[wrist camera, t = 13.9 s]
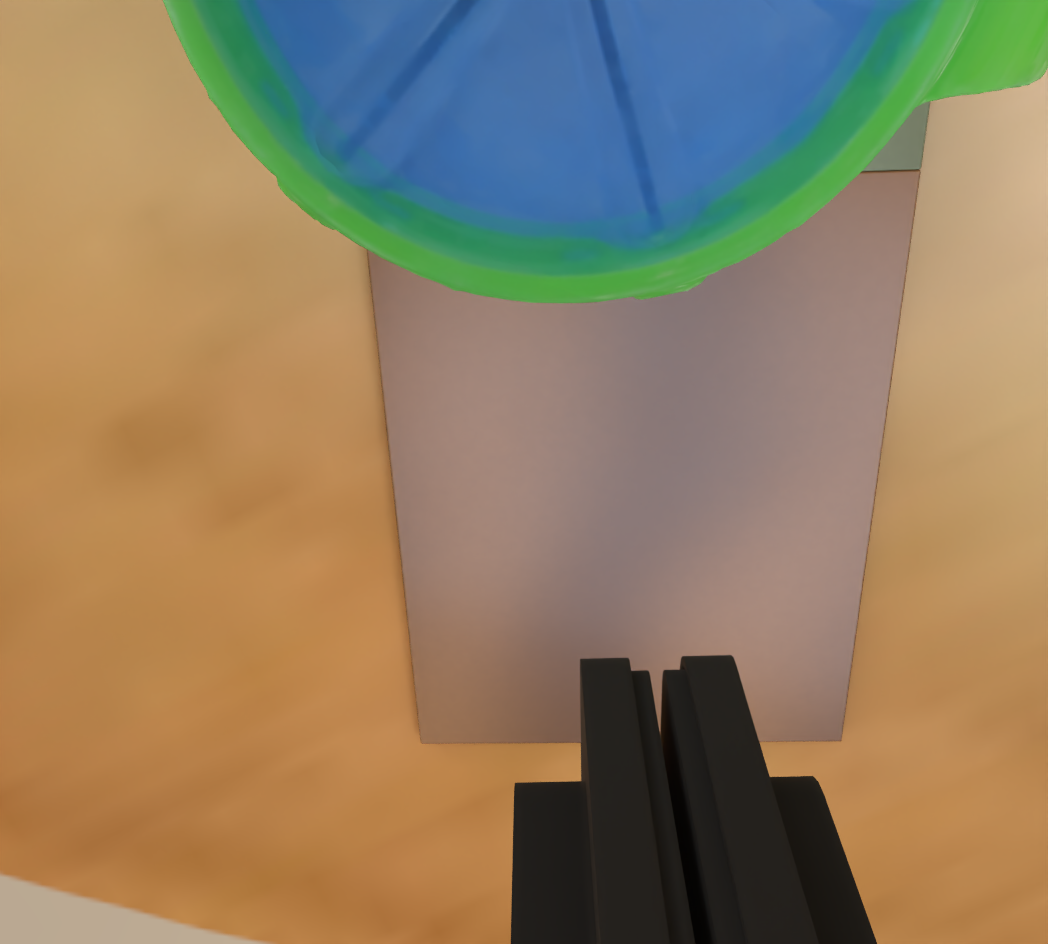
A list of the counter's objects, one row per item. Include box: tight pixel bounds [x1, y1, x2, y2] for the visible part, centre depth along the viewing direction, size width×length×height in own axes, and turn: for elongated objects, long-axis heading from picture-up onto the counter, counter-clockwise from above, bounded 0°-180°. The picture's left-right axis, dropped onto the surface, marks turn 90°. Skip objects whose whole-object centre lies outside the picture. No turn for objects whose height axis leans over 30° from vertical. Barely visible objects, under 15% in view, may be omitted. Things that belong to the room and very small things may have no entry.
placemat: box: [367, 101, 930, 744], centre depth 24 cm, size 13×29×1 cm, turn 2°
